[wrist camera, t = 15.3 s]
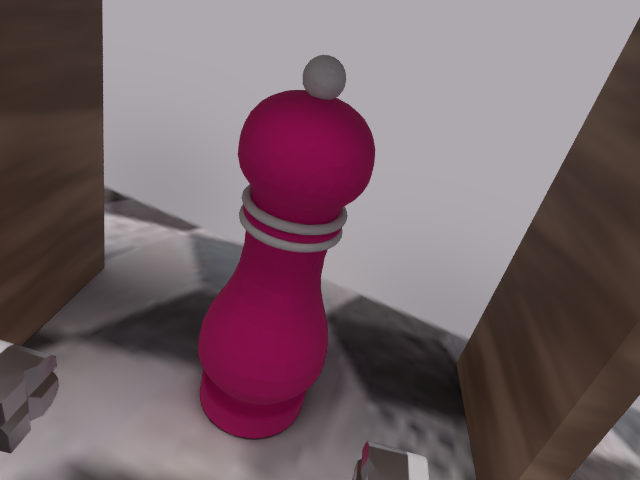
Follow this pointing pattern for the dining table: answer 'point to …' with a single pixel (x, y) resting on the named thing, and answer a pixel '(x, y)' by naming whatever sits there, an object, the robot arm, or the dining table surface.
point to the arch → (494, 326)
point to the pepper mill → (283, 253)
